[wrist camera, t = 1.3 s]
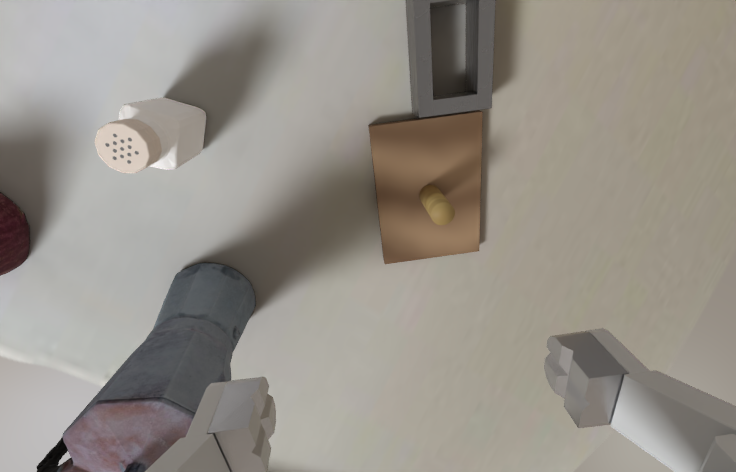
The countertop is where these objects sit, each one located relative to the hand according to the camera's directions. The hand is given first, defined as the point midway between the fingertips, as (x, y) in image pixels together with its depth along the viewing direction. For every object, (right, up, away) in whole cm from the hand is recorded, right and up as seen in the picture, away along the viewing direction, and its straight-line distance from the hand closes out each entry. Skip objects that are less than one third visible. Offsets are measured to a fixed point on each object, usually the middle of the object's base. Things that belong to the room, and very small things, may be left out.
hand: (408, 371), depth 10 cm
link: (+5, +19, +19) cm, 28 cm away
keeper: (+5, +8, +25) cm, 26 cm away
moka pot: (-18, -3, +28) cm, 34 cm away
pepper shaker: (-17, +14, +21) cm, 30 cm away
